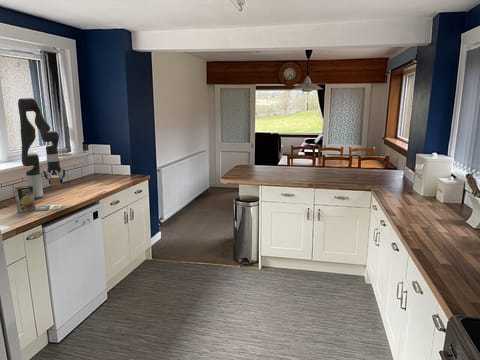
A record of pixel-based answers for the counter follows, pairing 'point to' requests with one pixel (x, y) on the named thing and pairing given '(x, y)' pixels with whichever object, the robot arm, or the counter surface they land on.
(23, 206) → the coffee box
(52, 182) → the block
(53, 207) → the pad
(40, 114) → the robot arm
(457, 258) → the counter surface
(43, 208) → the pad
